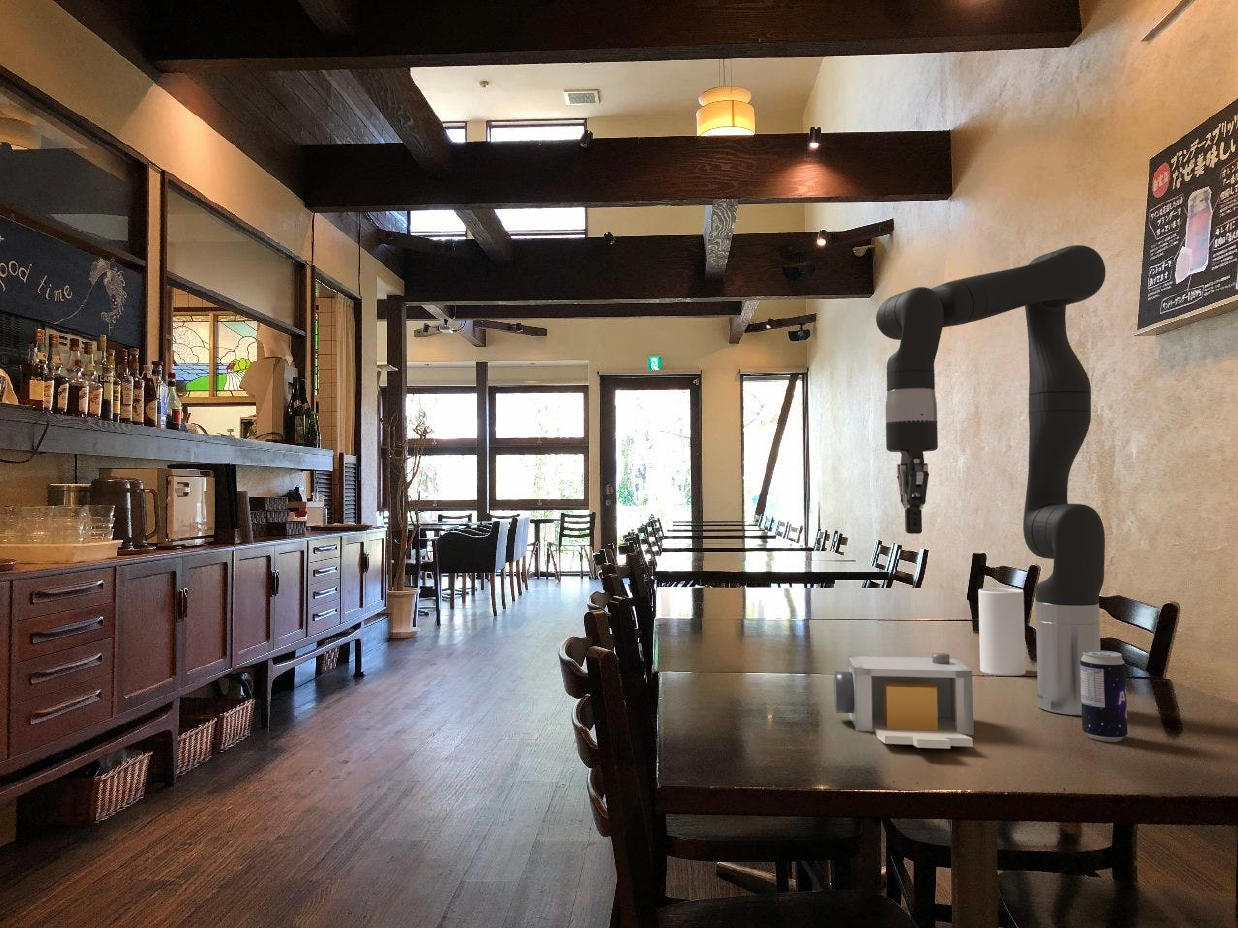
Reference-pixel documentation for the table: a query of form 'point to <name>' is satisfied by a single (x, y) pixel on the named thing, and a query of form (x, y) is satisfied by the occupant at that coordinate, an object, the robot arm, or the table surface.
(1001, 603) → the cup
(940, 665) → the camera housing
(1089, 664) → the beverage can
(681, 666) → the table surface
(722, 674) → the table surface
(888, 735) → the side door
